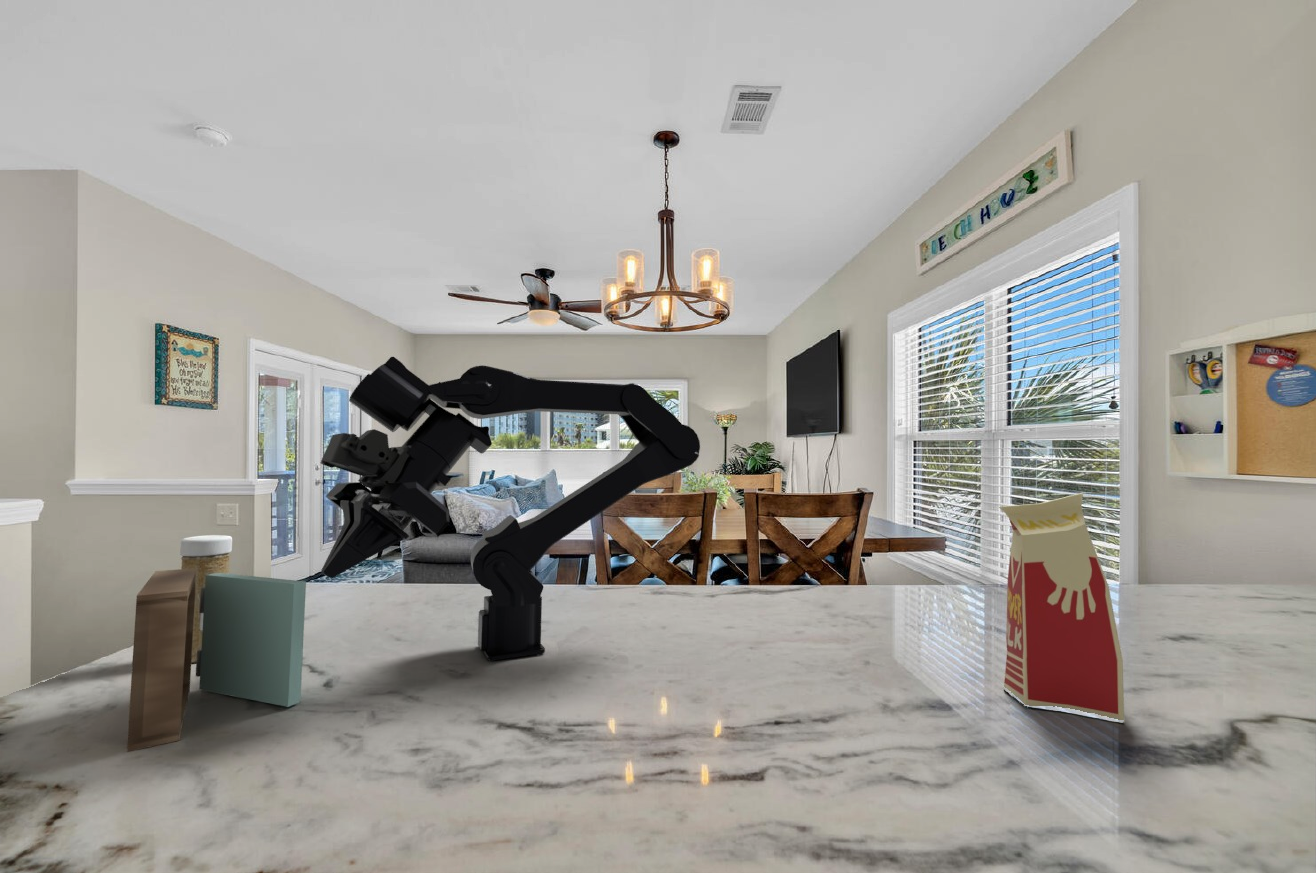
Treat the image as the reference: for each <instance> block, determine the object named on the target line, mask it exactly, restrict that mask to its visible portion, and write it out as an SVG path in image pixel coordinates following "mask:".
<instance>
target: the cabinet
mask: <svg viewBox="0 0 1316 873" xmlns="http://www.w3.org/2000/svg"><path fill="white" fill-rule="evenodd" d="M196 574H197V568H191V569H182V568H181V569H167V570H156V571H154V573H152V575H151V576H150V577H149V579H148V580H147V581H146V582H145V584H144V585H143V587H142V588H141V589H140V591H139V592H138V593H137V595H136V600H135V601H136V603H135V616H134V617H135V618H134V635H133V648H132V663H131V676H130V678H131V679H130V680H131V681H130V695H129V696H130V697H129V710H128V711H129V712H128V725H127V726H128V727H127V743H126V752H130V751H131V752H133V751H135V750H136V751H137V750H141V749H145V748H150V747H155V746H159V745H163V744H169V743H173V742H176V741H180V736H181V732H182V728H183V723H184V720H185V719H184V718H185V714H186V709H187V706H188V700H189V696H190V689H191V675H192V674H191V673H192V663H191V660H192V643H193V626H194V609H195V591H196Z"/></svg>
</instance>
